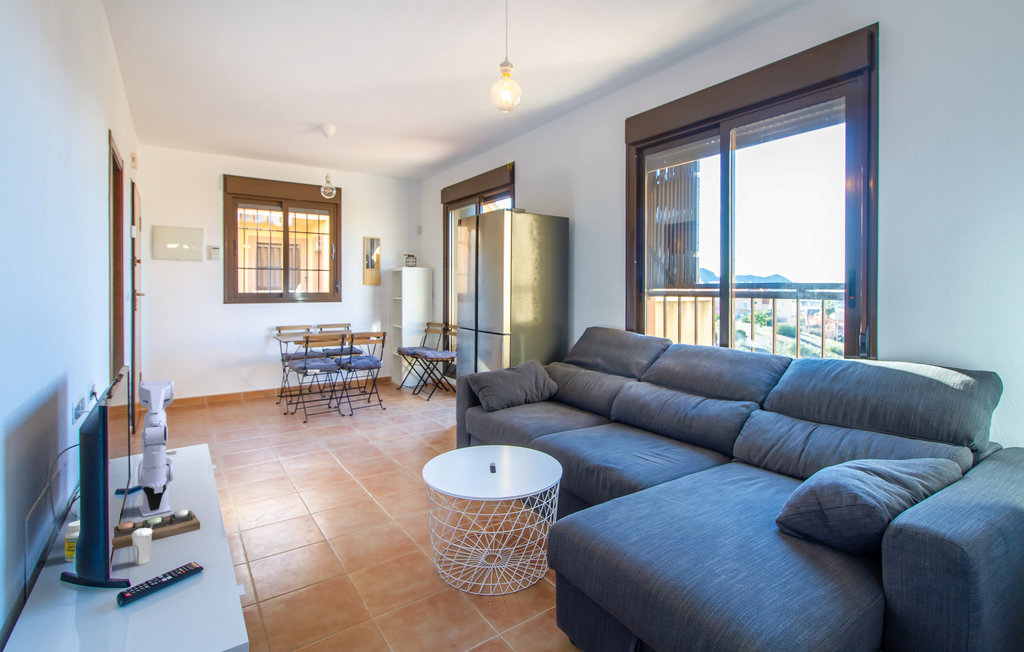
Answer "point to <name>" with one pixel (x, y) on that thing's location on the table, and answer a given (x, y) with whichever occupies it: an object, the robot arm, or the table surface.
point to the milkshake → (142, 545)
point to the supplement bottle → (71, 540)
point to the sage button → (153, 520)
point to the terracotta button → (125, 525)
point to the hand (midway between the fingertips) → (154, 509)
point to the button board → (157, 529)
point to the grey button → (180, 513)
